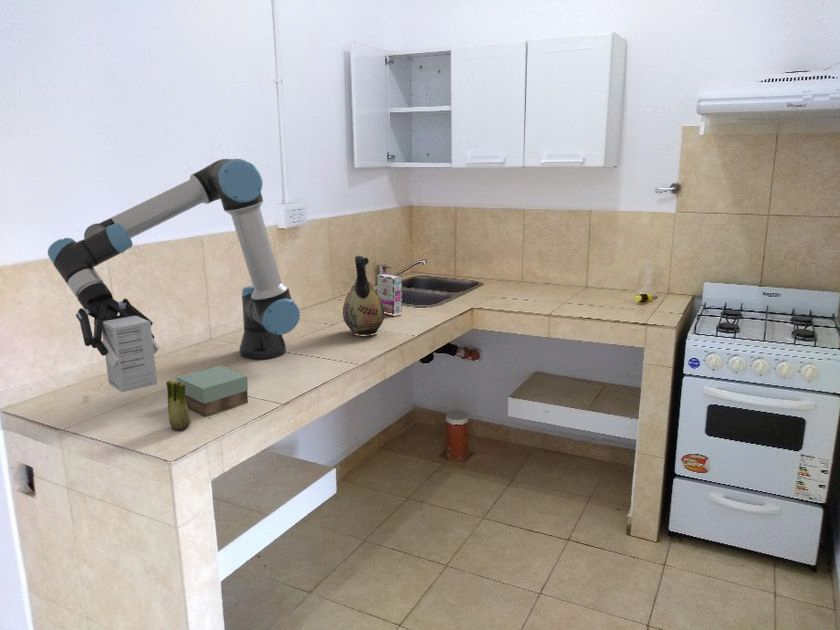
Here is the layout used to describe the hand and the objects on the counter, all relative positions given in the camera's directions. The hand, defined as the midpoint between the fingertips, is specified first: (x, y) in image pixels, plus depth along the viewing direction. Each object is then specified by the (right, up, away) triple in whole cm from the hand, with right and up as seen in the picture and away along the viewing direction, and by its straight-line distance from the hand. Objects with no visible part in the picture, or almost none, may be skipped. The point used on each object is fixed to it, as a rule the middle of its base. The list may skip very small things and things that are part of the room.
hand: (136, 357), depth 164 cm
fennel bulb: (+13, -17, -6) cm, 22 cm away
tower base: (+16, -14, +10) cm, 23 cm away
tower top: (+16, -10, +9) cm, 21 cm away
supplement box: (-2, -7, +3) cm, 8 cm away
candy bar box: (+59, +11, +110) cm, 125 cm away
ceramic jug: (+51, +3, +78) cm, 93 cm away
